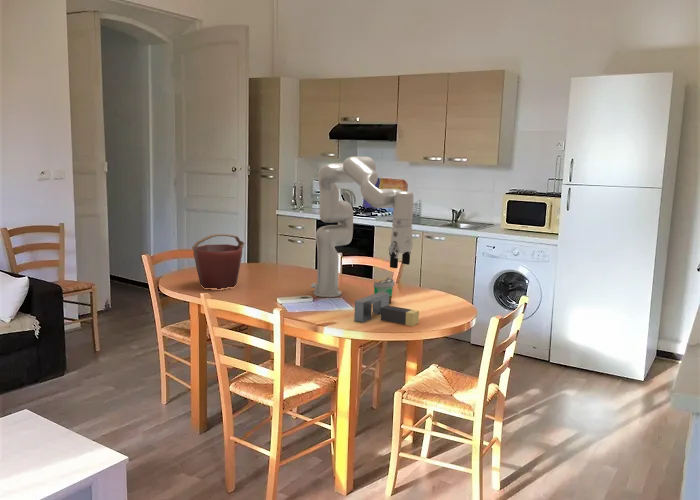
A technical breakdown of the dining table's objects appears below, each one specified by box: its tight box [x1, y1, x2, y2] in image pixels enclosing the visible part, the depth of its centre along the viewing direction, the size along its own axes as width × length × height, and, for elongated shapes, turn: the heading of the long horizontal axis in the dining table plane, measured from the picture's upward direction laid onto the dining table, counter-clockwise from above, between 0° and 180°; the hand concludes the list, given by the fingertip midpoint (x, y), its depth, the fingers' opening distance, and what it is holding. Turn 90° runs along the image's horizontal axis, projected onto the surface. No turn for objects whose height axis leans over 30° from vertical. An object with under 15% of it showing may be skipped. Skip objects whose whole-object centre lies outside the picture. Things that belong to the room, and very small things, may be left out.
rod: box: [380, 304, 420, 327], centre depth 241 cm, size 14×5×5 cm, turn 57°
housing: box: [354, 292, 390, 323], centre depth 247 cm, size 4×20×8 cm, turn 147°
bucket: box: [191, 233, 245, 289], centre depth 291 cm, size 24×22×25 cm
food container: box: [372, 277, 395, 305], centre depth 269 cm, size 12×6×10 cm, turn 148°
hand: (399, 265), depth 243 cm, fingers open, 9 cm apart
